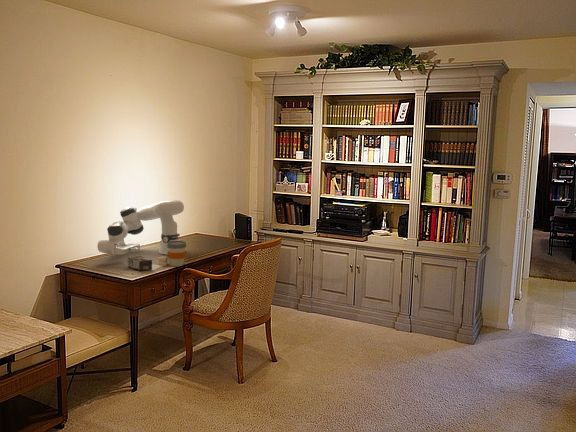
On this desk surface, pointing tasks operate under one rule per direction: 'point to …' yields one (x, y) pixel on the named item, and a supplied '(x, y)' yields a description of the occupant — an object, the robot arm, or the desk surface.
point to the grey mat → (156, 267)
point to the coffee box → (139, 263)
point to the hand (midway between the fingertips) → (138, 249)
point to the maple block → (162, 260)
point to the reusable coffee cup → (176, 252)
